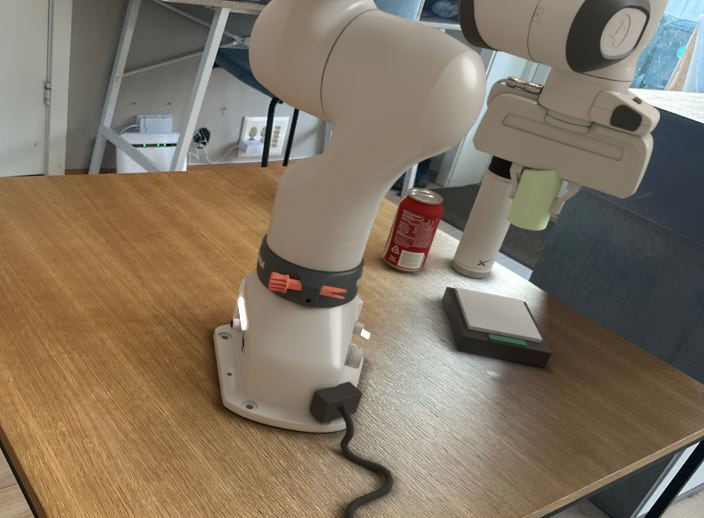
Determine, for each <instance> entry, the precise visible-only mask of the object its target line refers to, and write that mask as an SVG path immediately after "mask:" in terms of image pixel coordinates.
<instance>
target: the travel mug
mask: <svg viewBox="0 0 704 518" xmlns="http://www.w3.org/2000/svg"><path fill="white" fill-rule="evenodd" d="M512 163H513V162H511V161H508V160H505V159H502V158H499V157H496V156H493V155H492V157H491V159H490V163H489V164H488V167H487V168H486V172H485V174H484V176H483V179H482V182H481V185H480V187H479V190H478V192H477V196H476V197H475V200H474V203H473V204H472V205H473V206H472V208H471V210H470V214H469V216H468V219H467V220H466V221H467V222H466V224H465V227H464V229H463V232H462V233H461V234H462V235H461V237H460V240H459V241H458V245H457V248H456V250H455V252H454V256H453V258H452V260H451V267H452V269H454V271H456V272H457V273H459V274H461V275H463V276H465V277H468V278H472V279H485V278H487V277H489V275H490V273H491V271H492V268H493V266H494V264H495V261H496V259H497V258H498V257H497V256H498V254H499V252H500V249H501V247H502V245H503V242H504V240H505V238H506V235H507V233H508V231H509V229H510V225H511V223H510V222H509V221H508V220H507V216H508V213H509V210H510V207H511V204H512V201H513V199H510V198H509V194H510V192H511V189H512V187H513V185H512V181H511V175H510V168H511V166H512ZM522 172H523V171H522ZM522 172H521V175H522Z"/></svg>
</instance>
